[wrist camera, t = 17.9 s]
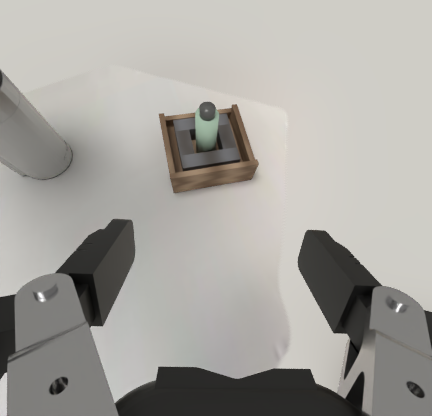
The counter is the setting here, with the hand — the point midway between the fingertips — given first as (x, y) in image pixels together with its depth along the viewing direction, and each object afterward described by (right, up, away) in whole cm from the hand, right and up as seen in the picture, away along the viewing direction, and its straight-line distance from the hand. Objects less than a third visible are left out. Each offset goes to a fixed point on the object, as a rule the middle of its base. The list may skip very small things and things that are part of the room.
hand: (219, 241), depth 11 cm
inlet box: (-2, +13, +37) cm, 40 cm away
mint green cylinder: (-2, +14, +36) cm, 39 cm away
